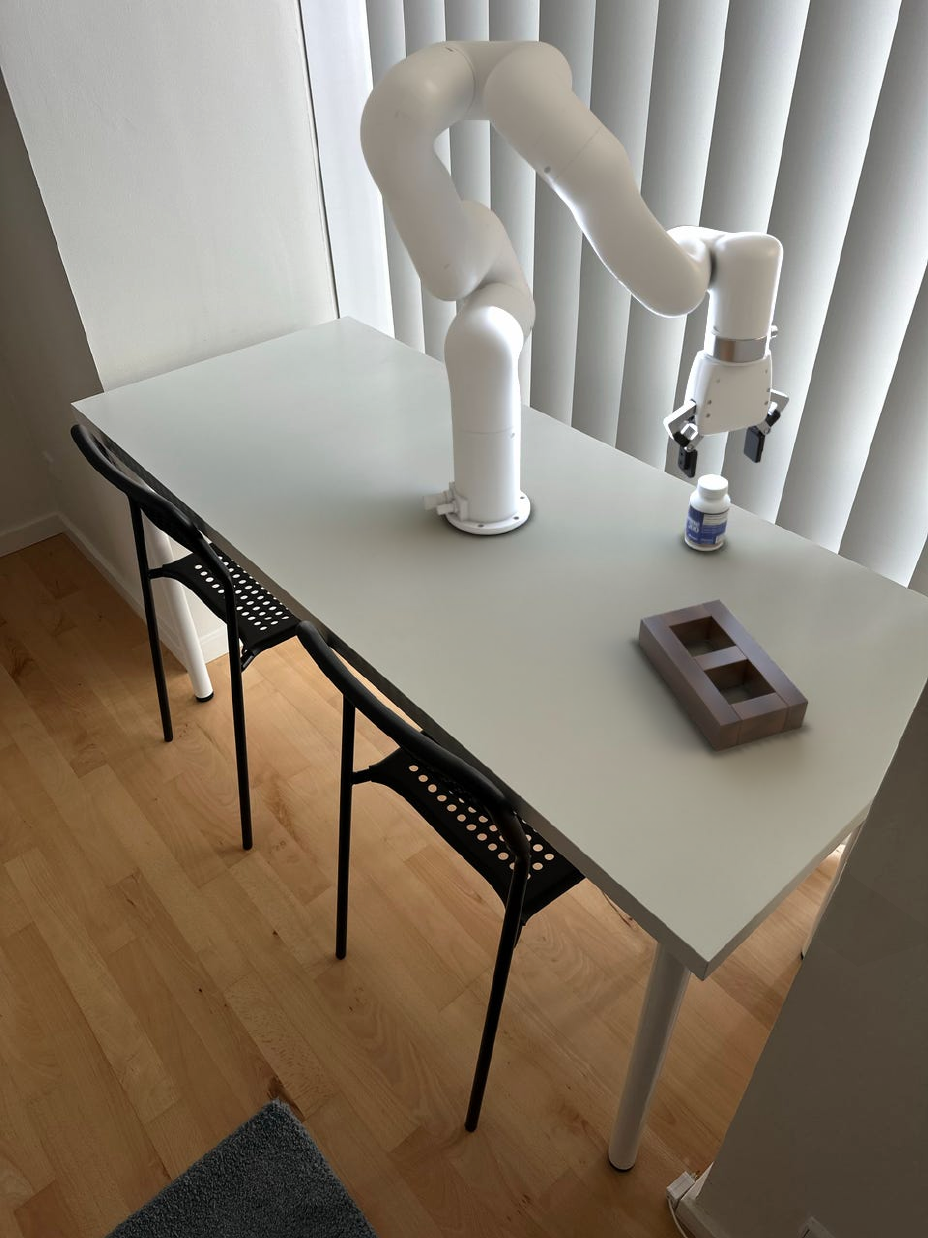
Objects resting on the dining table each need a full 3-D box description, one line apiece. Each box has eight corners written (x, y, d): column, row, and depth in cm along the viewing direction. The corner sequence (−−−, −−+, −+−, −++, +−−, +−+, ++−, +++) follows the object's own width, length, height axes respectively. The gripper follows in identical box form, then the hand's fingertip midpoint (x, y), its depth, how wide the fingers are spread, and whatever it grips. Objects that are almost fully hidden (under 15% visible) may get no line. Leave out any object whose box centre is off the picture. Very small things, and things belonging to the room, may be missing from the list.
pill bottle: (679, 531, 136) (688, 472, 129) (716, 529, 136) (726, 470, 130) (689, 553, 132) (699, 494, 125) (727, 550, 132) (738, 491, 126)
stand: (715, 751, 104) (721, 726, 101) (637, 643, 118) (640, 618, 115) (801, 727, 106) (809, 701, 103) (714, 623, 120) (719, 599, 117)
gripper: (781, 319, 119) (761, 440, 130) (657, 343, 116) (647, 465, 127) (816, 341, 114) (792, 465, 125) (687, 367, 110) (674, 493, 121)
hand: (719, 465), depth 126 cm, fingers open, 9 cm apart
